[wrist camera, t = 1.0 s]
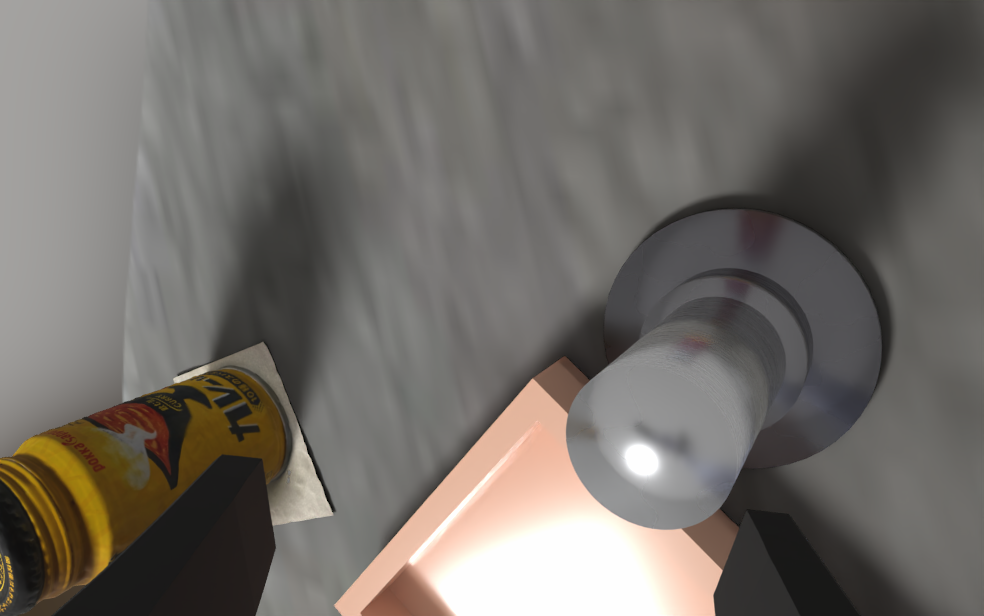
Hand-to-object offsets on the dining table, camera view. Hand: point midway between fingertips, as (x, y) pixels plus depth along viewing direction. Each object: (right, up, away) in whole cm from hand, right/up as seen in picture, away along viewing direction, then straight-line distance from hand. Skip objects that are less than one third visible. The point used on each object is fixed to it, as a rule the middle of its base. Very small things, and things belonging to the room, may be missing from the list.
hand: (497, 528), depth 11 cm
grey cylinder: (+7, +2, +11) cm, 13 cm away
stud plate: (+7, +2, +11) cm, 13 cm away
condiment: (-12, -3, +24) cm, 27 cm away
